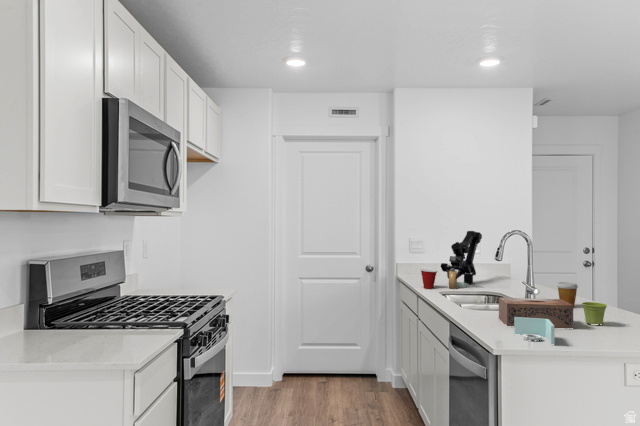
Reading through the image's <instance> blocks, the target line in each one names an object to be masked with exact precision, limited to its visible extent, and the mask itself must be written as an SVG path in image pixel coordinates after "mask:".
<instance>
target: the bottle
mask: <svg viewBox="0 0 640 426" xmlns="http://www.w3.org/2000/svg"><path fill="white" fill-rule="evenodd" d="M457 273H458V270H455V268H451V271H449V278H448V289H450V290H457V289H458V288H457V282H458V278H457V279H456V275H457Z"/></svg>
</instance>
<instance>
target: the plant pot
mask: <svg viewBox="0 0 640 426" xmlns="http://www.w3.org/2000/svg"><path fill="white" fill-rule="evenodd" d="M581 305H582V308H583V312H584V318H585V324H586V323H589V324H603V323H604V317H605V312H606V309H607V307H608V304H606V303H601V302H595V301H593V302H592V301H586V302H585V301H584V302H581ZM589 324H588V325H589Z"/></svg>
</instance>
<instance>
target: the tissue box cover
mask: <svg viewBox="0 0 640 426" xmlns="http://www.w3.org/2000/svg"><path fill="white" fill-rule="evenodd" d="M514 317H523V318H539V319H549V320H550V321H551V322H552V324H553V325H554V328H573V329H574V308H573V305H571V304H569V303H567V302H565V301H563V300H561V299H559V298H528V297H527V298H525V297H498V320H499V319H500V320H501V321H502V322H503V323H504V324H506V325H507V326H514ZM500 320H499V321H500ZM501 321H500V322H501ZM502 322H501V323H502ZM503 323H502V324H503ZM504 324H503V325H504Z"/></svg>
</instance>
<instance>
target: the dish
mask: <svg viewBox="0 0 640 426" xmlns="http://www.w3.org/2000/svg"><path fill="white" fill-rule="evenodd" d="M468 287H469V284H467V283H464V281H463V282H460V281H457V289H465V288H468Z"/></svg>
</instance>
